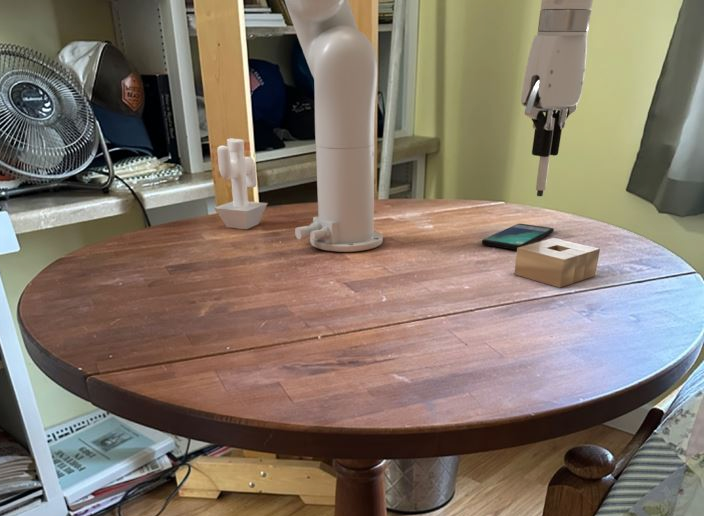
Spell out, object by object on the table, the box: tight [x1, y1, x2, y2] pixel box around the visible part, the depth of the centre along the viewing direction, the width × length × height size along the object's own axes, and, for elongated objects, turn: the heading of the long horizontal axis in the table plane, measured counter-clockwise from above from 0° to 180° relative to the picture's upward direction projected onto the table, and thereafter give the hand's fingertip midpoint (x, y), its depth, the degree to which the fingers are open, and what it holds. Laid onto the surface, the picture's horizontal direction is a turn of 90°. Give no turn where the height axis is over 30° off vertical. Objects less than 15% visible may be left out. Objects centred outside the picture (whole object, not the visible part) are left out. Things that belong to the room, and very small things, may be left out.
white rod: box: [535, 118, 555, 197], centre depth 118 cm, size 2×2×12 cm
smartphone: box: [481, 223, 555, 251], centre depth 122 cm, size 7×1×15 cm
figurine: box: [213, 137, 268, 230], centre depth 129 cm, size 7×9×15 cm
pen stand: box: [514, 237, 601, 289], centre depth 104 cm, size 8×8×4 cm
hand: (544, 154), depth 117 cm, fingers closed on white rod, 1 cm apart
